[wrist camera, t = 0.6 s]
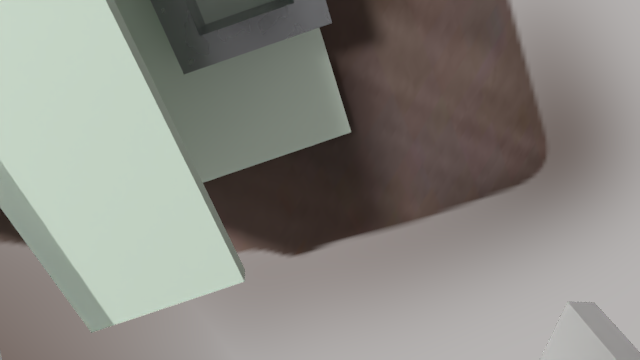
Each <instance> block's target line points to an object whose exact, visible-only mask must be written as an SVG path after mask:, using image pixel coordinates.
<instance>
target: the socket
mask: <svg viewBox="0 0 640 360" xmlns="http://www.w3.org/2000/svg"><path fill="white" fill-rule="evenodd" d="M150 1H151V3H152V5H153V7H154V9H155V12H156V14H157V16H158V18H159V20H160V23H161V25H162V27H163V29H164V32H165V34H166V36H167V38H168V40H169V43H170V45H171V47H172V49H173V51H174V54H175V56H176V58H177V60H178V62H179V65H180V67H181V69H182V71H183V74H187V73H190V72H193V71H195V70H198V69H201V68H204V67H207V66H210V65H213V64H216V63H218V62H221V61H224V60H227V59H230V58H233V57H236V56H239V55H242V54H244V53H247V52H250V51H253V50H256V49H259V48H262V47H265V46H267V45H270V44H273V43H276V42H279V41H282V40H285V39H288V38H290V37H293V36H296V35H299V34H302V33H305V32H308V31H311V30H313V29H316V28H319V27H322V26H325V25H328V24H331V23H332V20H331V17H330V13H329V10H328V7H327V3H326V0H274V1H271V2H268V3H265V4H262V5H259V6H257V7H254V8H251V9H248V10H245V11H242V12H239V13H237V14H234V15H231V16H228V17H225V18H222V19H219V20H217V21H214V22H211V23H208V24H205V22H204V20H203V17H202V15H201V12H200V10H199V7H198V5H197V2H196V0H150Z"/></svg>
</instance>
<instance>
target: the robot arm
mask: <svg viewBox="0 0 640 360" xmlns="http://www.w3.org/2000/svg"><path fill="white" fill-rule="evenodd" d="M0 360H2V357H1V352H0ZM540 360H640V352H639V351H638V350H637V349H636V348H635V347H634V346H633V344H632V343H631V342H630V341H629V340H628V339H627V338H626V337H625V336H624V334H623V333H622V332H621V331H620V330H619V329H618V328H617V327H616V326H615V325H614V324H613V323H612V321H611V320H610V319H609V318H608V317H607V316H606V315H605V314H604V313H603V312H602V311H601V309H600V308H599V307H598V306H597V305H596V304H595V303H592V302H591V303H590V302H567V304H566V306H565V308H564V310H563V312H562V314H561V316H560V319H559V320H558V322H557V325H556V327H555V329H554V331H553V333H552V335H551V337H550V339H549V342H548V343H547V345H546V348H545V350H544V352H543V354H542V356H541V358H540Z"/></svg>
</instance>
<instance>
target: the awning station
mask: <svg viewBox="0 0 640 360" xmlns="http://www.w3.org/2000/svg"><path fill="white" fill-rule="evenodd" d="M271 1H274V0H196V2H197V5H198V7H199V10H200V12H201V15H202V17H203V20H204V22H205V24H208V23H211V22H214V21H217V20H219V19H222V18H225V17H228V16H231V15H234V14H237V13H239V12H242V11H245V10H248V9H251V8H254V7H257V6H259V5H262V4H265V3H268V2H271ZM348 133H351V130H350V126H349V123H348V120H347V116H346V113H345V110H344V107H343V103H342V100H341V97H340V93H339V90H338V87H337V84H336V80H335V77H334V74H333V70H332V67H331V64H330V61H329V57H328V54H327V51H326V47H325V44H324V41H323V38H322V34H321V31H320V28H316V29H313V30H311V31H308V32H305V33H302V34H299V35H296V36H293V37H290V38H288V39H285V40H282V41H279V42H276V43H273V44H270V45H267V46H265V47H262V48H259V49H256V50H253V51H250V52H247V53H244V54H242V55H239V56H236V57H233V58H230V59H227V60H224V61H221V62H218V63H216V64H213V65H210V66H207V67H204V68H201V69H198V70H195V71H193V72H190V73H187V74H183V71H182V69H181V67H180V65H179V62H178V60H177V58H176V56H175V54H174V51H173V49H172V47H171V45H170V43H169V40H168V38H167V36H166V34H165V32H164V29H163V27H162V25H161V23H160V20H159V18H158V16H157V14H156V12H155V9H154V7H153V5H152V3H151V1H150V0H0V208H1V209H2V211H3V212H4V213H5V215H6V216H7V218H8V219H9V220H10V222H11V223H12V224H13V226H14V227H15V229H16V230H17V231H18V233H19V234H20V235H21V237H22V238H23V240H24V241H25V242H26V244H27V245H28V246H29V248H30V249H31V250H32V252H33V253H34V254H35V256H36V257H37V259H38V260H39V261H40V263H41V264H42V266H43V267H44V268H45V270H46V271H47V272H48V274H49V275H50V277H51V278H52V279H53V281H54V282H55V283H56V285H57V286H58V287H59V289H60V290H61V292H62V293H63V294H64V296H65V297H66V298H67V300H68V301H69V303H70V304H71V305H72V307H73V308H74V309H75V311H76V312H77V313H78V315H79V316H80V318H81V319H82V320H83V322H84V323H85V324H86V326H87V327H88V329H89V330H90V331H91V333H92V332H95V331H98V330H101V329H104V328H107V327H110V326H113V325H116V324H119V323H122V322H125V321H128V320H131V319H134V318H137V317H140V316H143V315H146V314H149V313H152V312H155V311H158V310H161V309H164V308H166V307H170V306H173V305H176V304H179V303H182V302H185V301H188V300H191V299H194V298H197V297H200V296H203V295H206V294H209V293H212V292H215V291H218V290H221V289H224V288H227V287H230V286H233V285H236V284H239V283H242V282H244V280H245V277H244V276H245V269H244V267H243V265H242V263H241V261H240V259H239V257H238V254H237V252H236V250H235V248H234V246H233V244H232V242H231V240H230V238H229V236H228V234H227V232H226V230H225V228H224V226H223V224H222V221H221V219H220V217H219V215H218V213H217V211H216V209H215V207H214V205H213V203H212V201H211V199H210V197H209V195H208V193H207V191H206V189H205V186H204V184H203V183H204V182H207V181H210V180H213V179H216V178H219V177H221V176H224V175H227V174H230V173H233V172H236V171H239V170H242V169H245V168H248V167H251V166H254V165H257V164H260V163H263V162H266V161H268V160H271V159H274V158H277V157H280V156H283V155H286V154H289V153H292V152H295V151H298V150H301V149H304V148H307V147H310V146H312V145H315V144H318V143H321V142H324V141H327V140H330V139H333V138H336V137H339V136H342V135H345V134H348Z"/></svg>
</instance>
